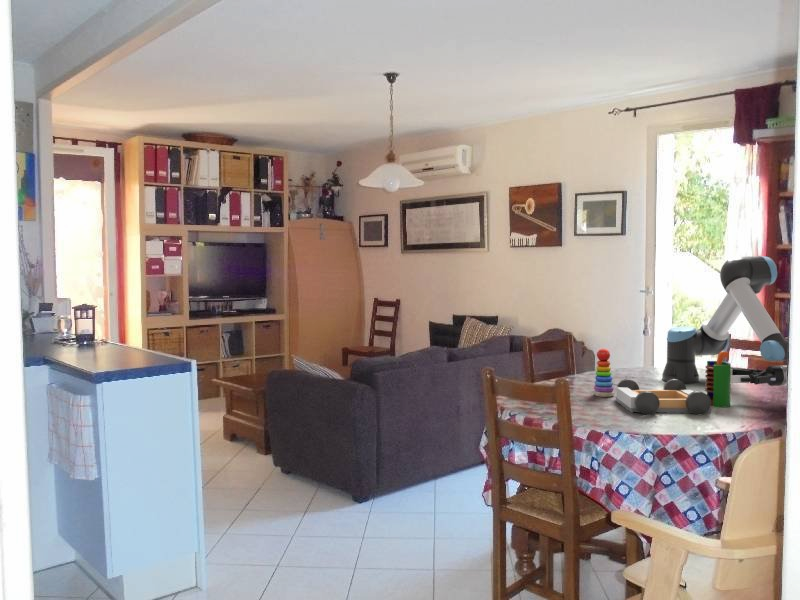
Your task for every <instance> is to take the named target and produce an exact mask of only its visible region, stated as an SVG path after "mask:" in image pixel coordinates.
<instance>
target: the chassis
mask: <svg viewBox="0 0 800 600" xmlns="http://www.w3.org/2000/svg"><path fill="white" fill-rule="evenodd" d="M615 402H617V403H618V404H619V405H620V404H621V405H620V406H622V407H623V408H624V407H625V408H624V409H626V410H627V411H628V410H629V411H630V412H629V411H628V412H629V413H631V414H634V413H633V412H641V413H640V414H643V415H645V414H651V415H653V414H656V413H655V412H667V413H666V414H669V413H668V412H671V413H670V414H694V415H697V414H702V415H704V414H711V410H712V408H711V407H712V406H711V399H710V397H709V396H708V395H707V393H706V392H704V391H700V390H695V391H694V390H692V389H687V386H686V383H683V382H682V381H680V380H678V379H671V380H668V381H666V382H665V383H664V385H663V389H640V387H639V384H638V383H637V382H636V381H635V380H633V379H630V378H625V379H624V378H623V379H622V380H621V381H619V382H618V383H617V385H616V396H615ZM674 412H675V413H674ZM681 412H683V413H681Z"/></svg>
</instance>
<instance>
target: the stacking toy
mask: <svg viewBox="0 0 800 600" xmlns="http://www.w3.org/2000/svg"><path fill="white" fill-rule="evenodd" d="M596 357H597V359H598V361H597V362H596V364H597V366H596V369H595V370H596V371H595V377H594V380H595V381H594V386H593V389H594V390H593V395H594V396H596V397H601V398H610V397H613V396H614V395H615V392H614V389H615V388H614V382H613V377H612V370H611V369H612V368H611V366H610V365H611V362H610V361H609V359H610V357H611V352H610V351H609V350H608V349H607V348H600V349H599V350H598V351H597V352H596Z"/></svg>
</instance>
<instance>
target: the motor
mask: <svg viewBox="0 0 800 600" xmlns="http://www.w3.org/2000/svg"><path fill="white" fill-rule="evenodd" d="M724 358H726V359H727V358H728V359H729V358H730V352H729V351H721V352H720V353H719V354H717V358H716V360H707V361H706V365H705V379H704V381H705V384H704V385H705V388H704V389H705V392H706V394H707V395H708V396H709V397H710V399H711V407H713V408H728V407H730V406H731V383H730V375H731V368H732V366H731V363H730V362H729V361H723V359H724ZM727 406H728V407H727Z"/></svg>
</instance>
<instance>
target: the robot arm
mask: <svg viewBox="0 0 800 600" xmlns="http://www.w3.org/2000/svg"><path fill="white" fill-rule="evenodd" d="M777 267H778V266H777V265H776V263H775V261H774V260H773V258H771V257H768V256H762V255H758V256H755V255H754V256H733V257H731V258H729V259H728V260H726V261H725V262H724V263H723V265H722V266H721V268H720V274H719V277H720V282H721V285H722V287H723V289H724V290H725V292H726V293H727V294H726V295H725V296H724V298H723V300H721V303H720V304H719V305H718V307H717V309H716V310H715V312H714V313H713V315H712V316H711V318H710V319H709V320H706V321H704V322H703V323H702V324H701V326H700V328H698V329H697V328H696V327H694V326H689V325H686V326H675V327H671V328H670V329H669V330H668V331H667V336H666V341H667V342H666V343H667V344H666V345H667V347H666V363H665V366H664V368H663V371H662V374H661V376H662V377H661V380H663V381H666V382H667V381H668V380H671V379H678V380H680V381H682V382H683V383H684V384H693V383H699V381H700V375H699V372H698V368H697V365H696V356H697V357H698V356H700V357H702V356H716V355H717V356H718V354H719V353H720V352H721V351H725V352H727V350H728V348H729V347H730V346H729V345H730V333H729V331H730V329H731V328H732V326H733V324H734V323H735V322H736V320H737V318H738V317H740V315H741V314H743V316H744V317H745V319H746V320H747V322H748V324H749V325H750V327H751V329H752V330H753V331H754V334H755V335H756V336H757V338H758V339H759V341H760V343H761V344H760V347H759V351H760V356H761V357H762V358H763V359H764V360H765V361H767V362H784V361H788V360H787V344H788V340H789V339H786V338H785V337H784V336H783V334H782V333H781V331H780V329H779V328H778V326H777V325H776V323H775V322H774V320H773V319H772V317H771V316H770V314H769V313H768V311H767V310H766V308H765V306H764V304H763V303H762V302H761V300H760V299H759V297H758V296H757V295H758V294H759V293H760V292H762V289H763V288H764V287H765V286H771V285H772V284H774V283H775V281H776V280H777V277H778V270H777V269H778V268H777ZM749 383H750V384H754V385H761V384H768V386H770V387H776V386H777V387H780V386H783V387H784V386H785V387H786V388H788V387H787V365H785V364H784V365H768V366H767V367H766V368H765V370H763V369H758V368H756V369H755V368H741V367H740V368H739V367H731V375H730V384H749Z"/></svg>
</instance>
